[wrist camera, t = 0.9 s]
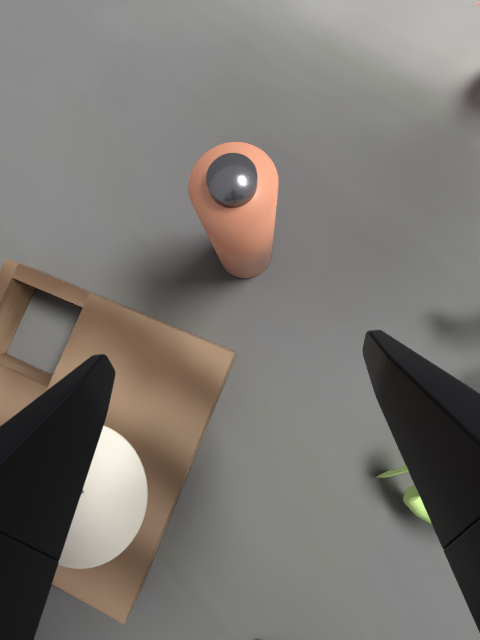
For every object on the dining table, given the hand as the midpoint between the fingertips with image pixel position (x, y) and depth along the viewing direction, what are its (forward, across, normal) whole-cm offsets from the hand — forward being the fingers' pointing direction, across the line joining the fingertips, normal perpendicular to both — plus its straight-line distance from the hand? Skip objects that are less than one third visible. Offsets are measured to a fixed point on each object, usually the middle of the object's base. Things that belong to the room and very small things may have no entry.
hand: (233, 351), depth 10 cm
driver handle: (+15, 0, +3) cm, 15 cm away
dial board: (+6, +15, +12) cm, 20 cm away
